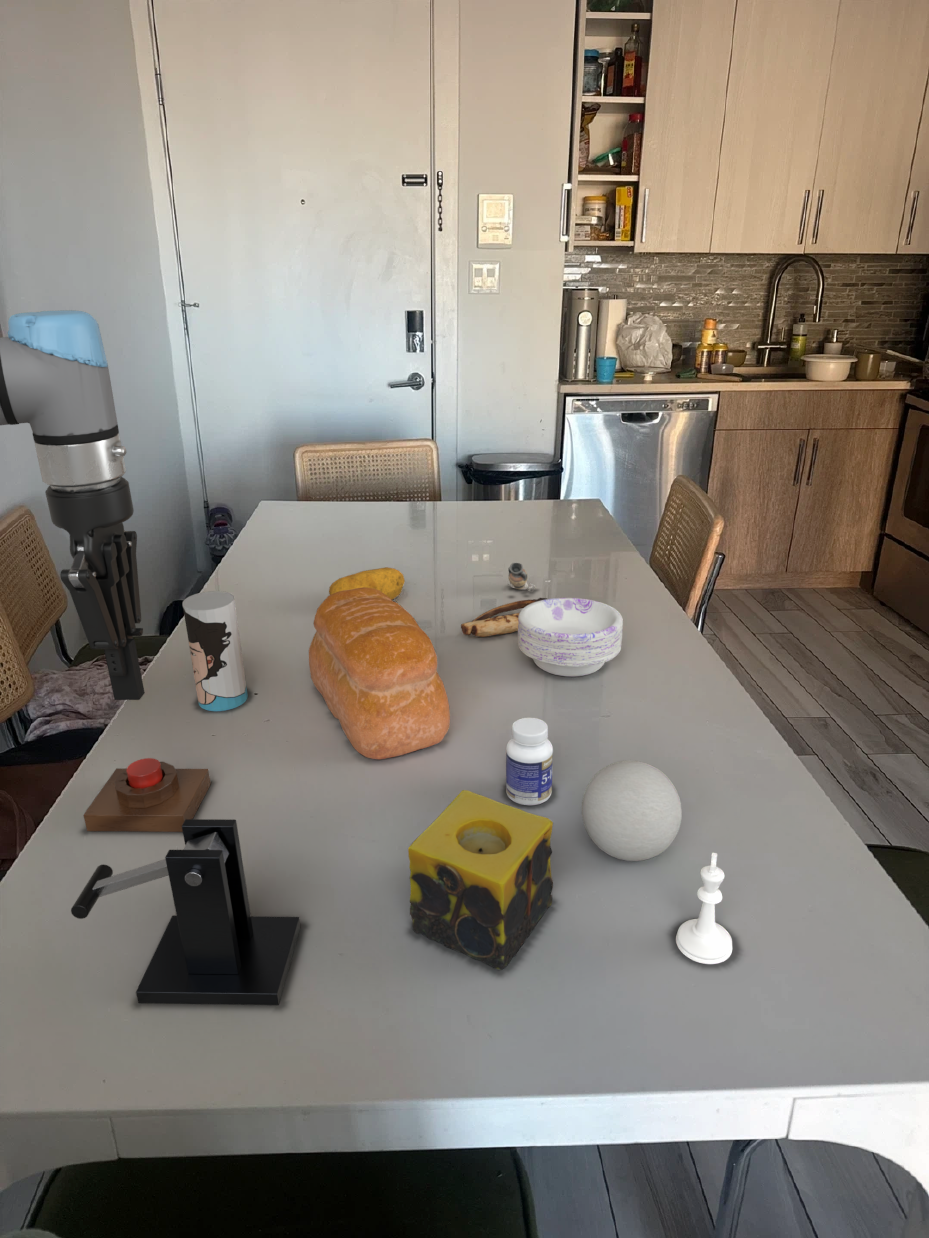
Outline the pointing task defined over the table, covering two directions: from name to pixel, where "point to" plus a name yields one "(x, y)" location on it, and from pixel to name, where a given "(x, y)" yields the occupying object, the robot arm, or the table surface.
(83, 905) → the lever
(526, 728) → the pill bottle
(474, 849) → the candle
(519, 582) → the vase
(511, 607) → the bone fish hook
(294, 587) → the table surface
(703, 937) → the chess piece
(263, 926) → the bracket
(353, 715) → the bread
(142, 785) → the button
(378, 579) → the potato
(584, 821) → the ball
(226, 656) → the cup
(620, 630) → the paper bowls
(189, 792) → the button block
